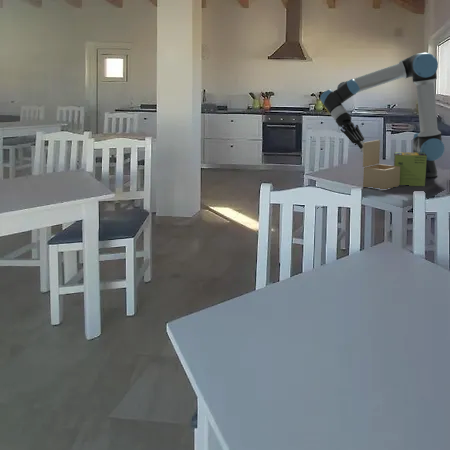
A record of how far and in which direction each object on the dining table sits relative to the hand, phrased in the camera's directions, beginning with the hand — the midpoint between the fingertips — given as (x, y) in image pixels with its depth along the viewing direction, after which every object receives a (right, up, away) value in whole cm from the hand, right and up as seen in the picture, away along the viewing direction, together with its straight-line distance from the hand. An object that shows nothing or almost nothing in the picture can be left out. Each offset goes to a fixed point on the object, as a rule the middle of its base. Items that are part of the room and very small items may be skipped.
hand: (367, 152), depth 321 cm
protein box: (+22, -15, +6) cm, 28 cm away
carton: (+7, -17, 0) cm, 18 cm away
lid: (+2, 0, 0) cm, 2 cm away
